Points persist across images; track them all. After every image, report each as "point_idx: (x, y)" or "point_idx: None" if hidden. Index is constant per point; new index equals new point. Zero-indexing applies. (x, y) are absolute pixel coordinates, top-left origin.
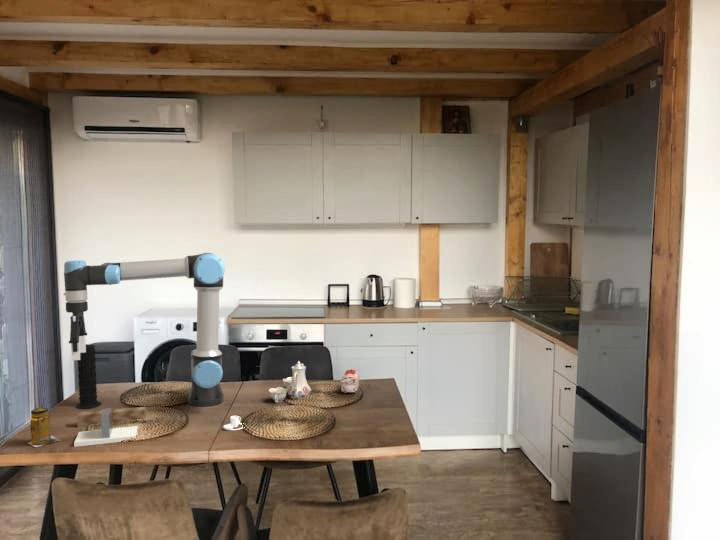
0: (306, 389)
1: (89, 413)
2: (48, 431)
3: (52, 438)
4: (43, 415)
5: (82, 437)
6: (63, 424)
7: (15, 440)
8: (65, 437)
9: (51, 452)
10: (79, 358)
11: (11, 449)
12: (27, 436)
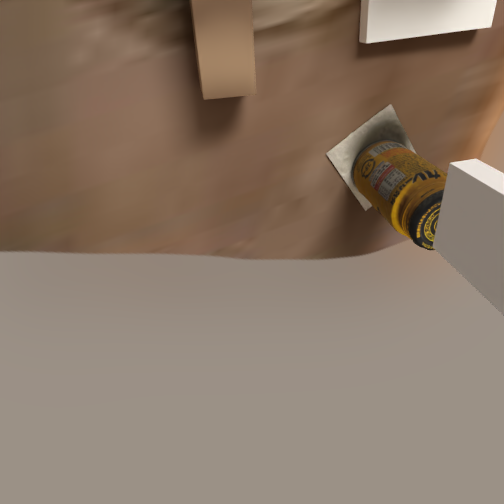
0: None
1: (236, 33)
2: (414, 154)
3: (354, 143)
4: None
5: (445, 4)
6: (193, 157)
7: (328, 251)
8: (356, 97)
9: (492, 99)
10: (487, 171)
11: None
12: (301, 232)
